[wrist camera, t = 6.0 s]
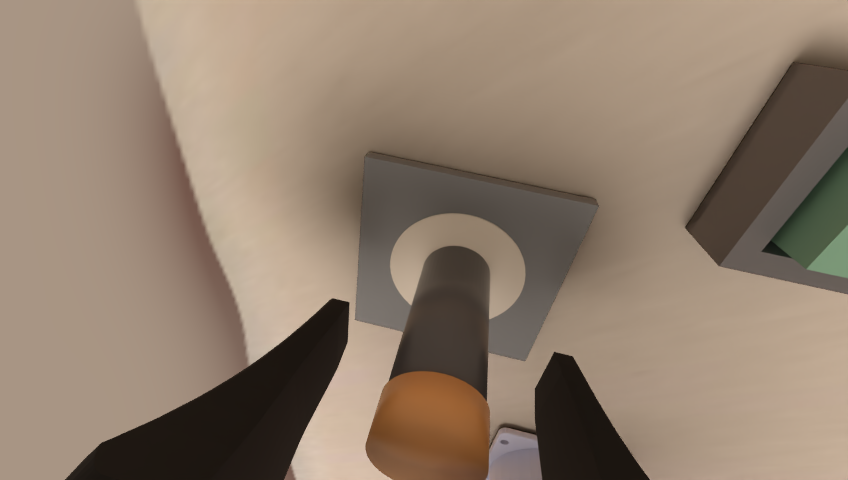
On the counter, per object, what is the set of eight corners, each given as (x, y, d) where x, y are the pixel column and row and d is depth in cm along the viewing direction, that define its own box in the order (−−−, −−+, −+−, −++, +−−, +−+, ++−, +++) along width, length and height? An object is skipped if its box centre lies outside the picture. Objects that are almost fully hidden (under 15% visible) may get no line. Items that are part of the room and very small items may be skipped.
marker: (482, 308, 17) (472, 503, 10) (416, 292, 17) (362, 474, 10) (501, 253, 15) (504, 445, 8) (426, 236, 15) (369, 410, 8)
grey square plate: (524, 352, 19) (525, 362, 18) (358, 312, 19) (354, 321, 19) (595, 199, 14) (599, 207, 13) (369, 151, 14) (364, 157, 14)
